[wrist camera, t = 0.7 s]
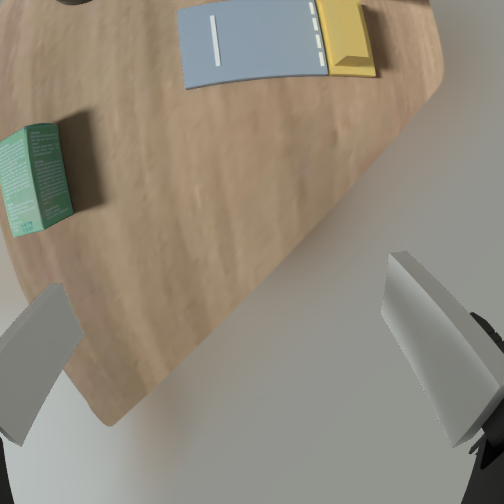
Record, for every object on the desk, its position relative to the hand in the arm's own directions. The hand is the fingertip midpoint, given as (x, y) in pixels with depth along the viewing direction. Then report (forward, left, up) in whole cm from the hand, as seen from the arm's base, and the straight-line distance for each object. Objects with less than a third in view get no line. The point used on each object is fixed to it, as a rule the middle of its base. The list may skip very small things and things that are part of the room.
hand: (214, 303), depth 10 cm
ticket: (-18, +4, -25) cm, 31 cm away
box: (-7, -27, -25) cm, 37 cm away
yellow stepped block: (-18, +15, -24) cm, 33 cm away
